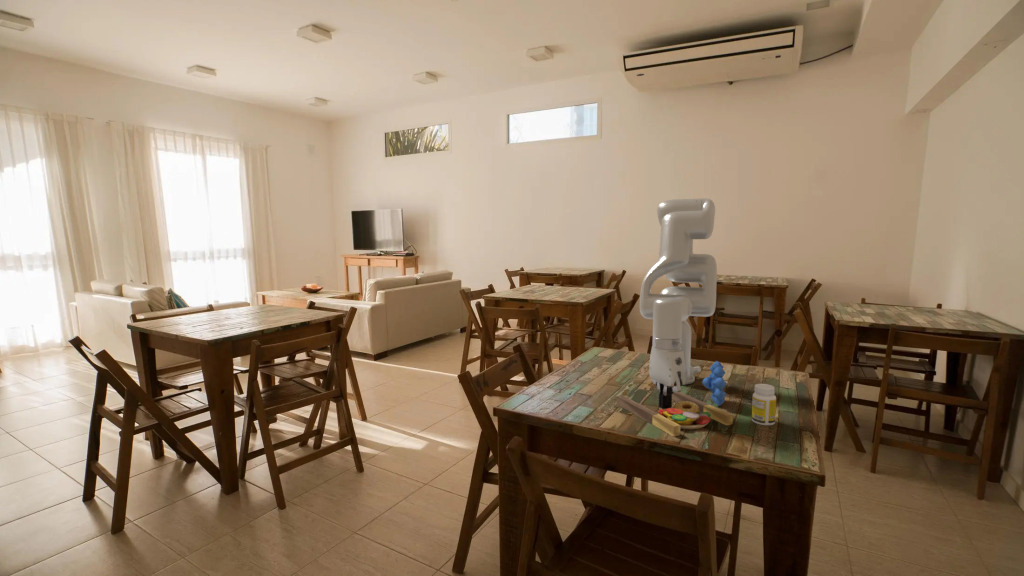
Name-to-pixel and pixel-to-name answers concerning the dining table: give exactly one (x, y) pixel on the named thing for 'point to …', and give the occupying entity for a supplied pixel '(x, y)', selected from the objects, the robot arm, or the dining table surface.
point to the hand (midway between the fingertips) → (665, 407)
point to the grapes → (716, 383)
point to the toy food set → (686, 415)
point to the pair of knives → (665, 423)
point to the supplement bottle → (764, 404)
